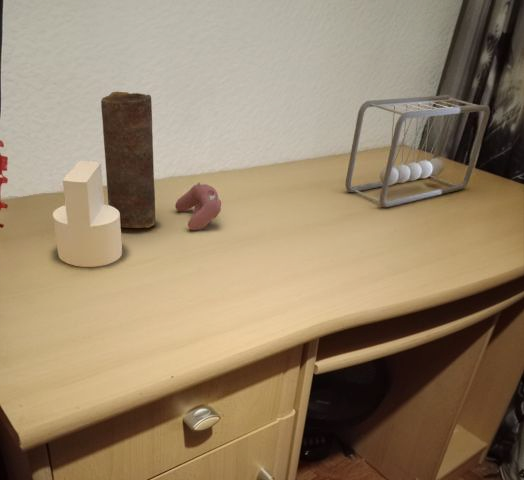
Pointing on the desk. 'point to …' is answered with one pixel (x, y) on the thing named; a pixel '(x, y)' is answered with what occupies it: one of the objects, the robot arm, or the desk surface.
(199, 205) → the video game controller
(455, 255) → the desk surface
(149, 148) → the rusty brown cylinder
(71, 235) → the base with upright slab
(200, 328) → the desk surface
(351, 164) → the newton's cradle
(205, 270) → the desk surface
